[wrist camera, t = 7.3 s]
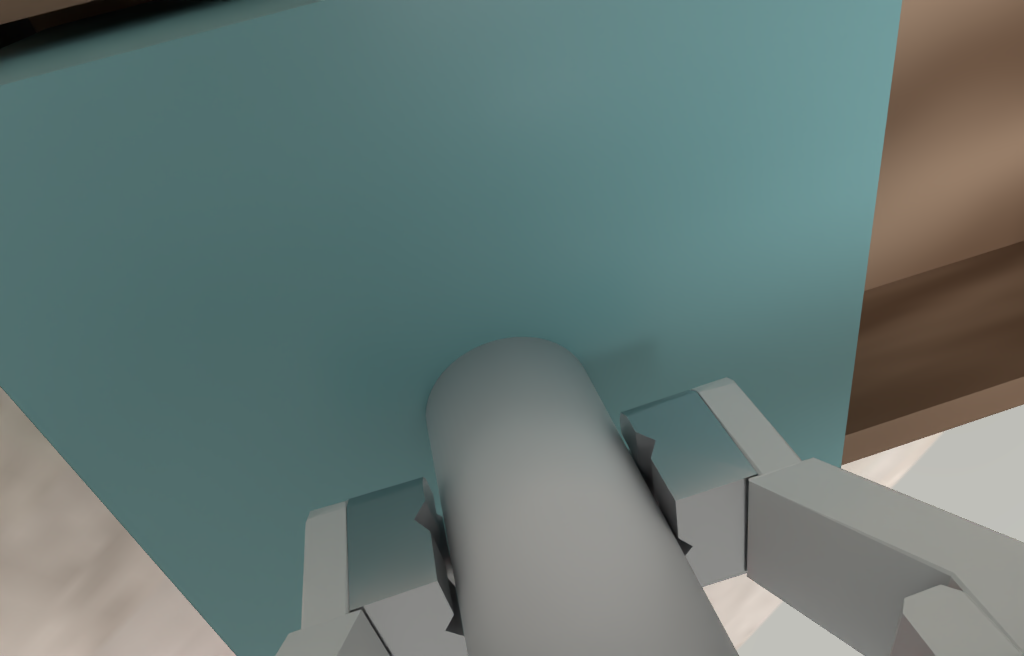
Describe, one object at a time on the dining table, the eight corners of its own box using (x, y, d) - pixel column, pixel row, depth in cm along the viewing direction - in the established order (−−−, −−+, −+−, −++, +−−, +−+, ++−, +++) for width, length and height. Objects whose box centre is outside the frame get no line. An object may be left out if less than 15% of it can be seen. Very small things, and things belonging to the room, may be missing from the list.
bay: (-55, -48, 12) (-409, -3, 6) (1202, -359, 14) (1815, -545, 8) (272, 478, 21) (248, 703, 15) (1028, 240, 23) (1269, 357, 17)
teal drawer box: (27, 26, 12) (-1413, 603, 2) (660, -137, 13) (1736, -269, 3) (291, 472, 19) (246, 1086, 9) (688, 347, 20) (1037, 785, 10)
